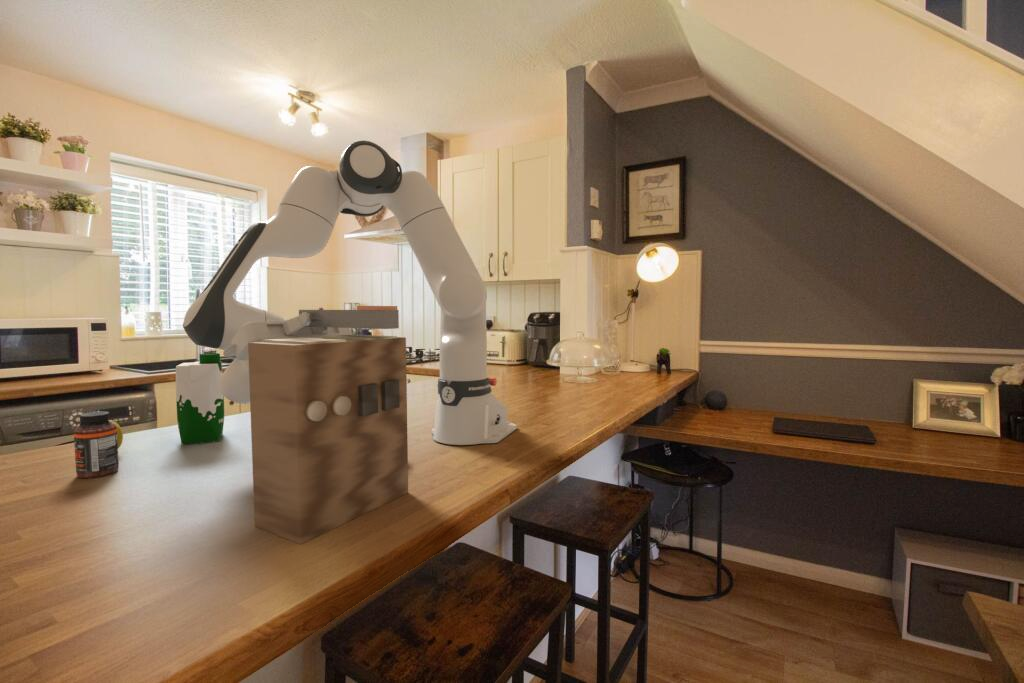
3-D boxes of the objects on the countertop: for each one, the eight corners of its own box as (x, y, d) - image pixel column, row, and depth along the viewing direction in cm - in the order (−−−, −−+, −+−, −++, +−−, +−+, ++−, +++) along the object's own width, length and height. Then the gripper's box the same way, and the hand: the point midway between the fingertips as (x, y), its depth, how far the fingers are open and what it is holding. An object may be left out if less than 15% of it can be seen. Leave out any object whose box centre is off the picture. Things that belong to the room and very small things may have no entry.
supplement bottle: (70, 475, 86) (66, 414, 85) (110, 466, 91) (106, 408, 90) (85, 481, 83) (81, 418, 82) (125, 471, 88) (122, 411, 87)
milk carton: (222, 441, 108) (218, 355, 107) (174, 446, 104) (170, 356, 103) (227, 432, 116) (224, 352, 114) (183, 437, 112) (179, 353, 111)
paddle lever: (317, 325, 83) (317, 306, 82) (402, 328, 73) (402, 306, 72) (295, 326, 79) (294, 306, 79) (381, 329, 69) (380, 305, 68)
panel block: (365, 481, 83) (362, 334, 81) (412, 493, 77) (410, 335, 76) (254, 526, 66) (247, 340, 64) (305, 546, 60) (299, 343, 58)
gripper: (212, 341, 77) (254, 297, 70) (319, 335, 94) (360, 300, 88) (224, 375, 76) (267, 334, 69) (330, 363, 93) (373, 330, 87)
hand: (320, 315), depth 79 cm, fingers closed on paddle lever, 3 cm apart
